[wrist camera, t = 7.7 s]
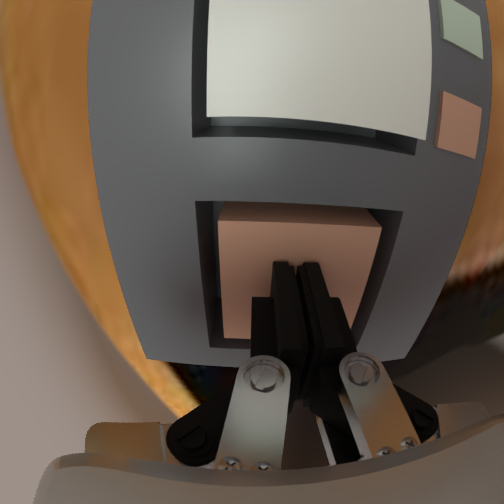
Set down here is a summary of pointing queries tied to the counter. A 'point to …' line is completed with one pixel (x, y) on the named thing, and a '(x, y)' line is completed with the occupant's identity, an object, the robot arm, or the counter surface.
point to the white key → (322, 61)
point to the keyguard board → (271, 175)
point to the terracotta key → (291, 252)
